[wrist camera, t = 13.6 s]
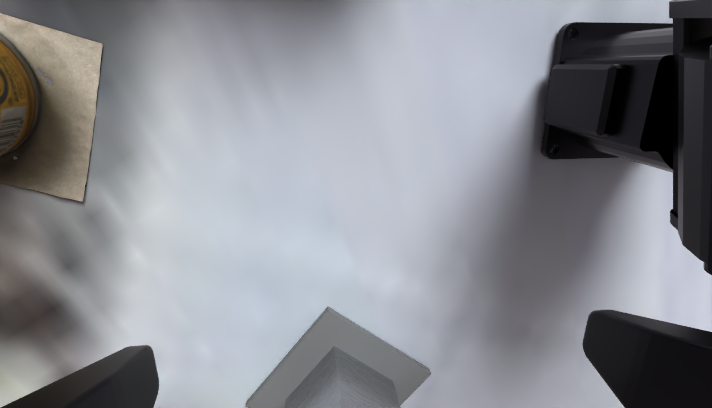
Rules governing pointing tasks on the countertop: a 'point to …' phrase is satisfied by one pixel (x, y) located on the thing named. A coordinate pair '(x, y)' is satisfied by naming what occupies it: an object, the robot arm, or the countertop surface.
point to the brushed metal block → (343, 385)
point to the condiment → (46, 107)
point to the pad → (354, 341)
